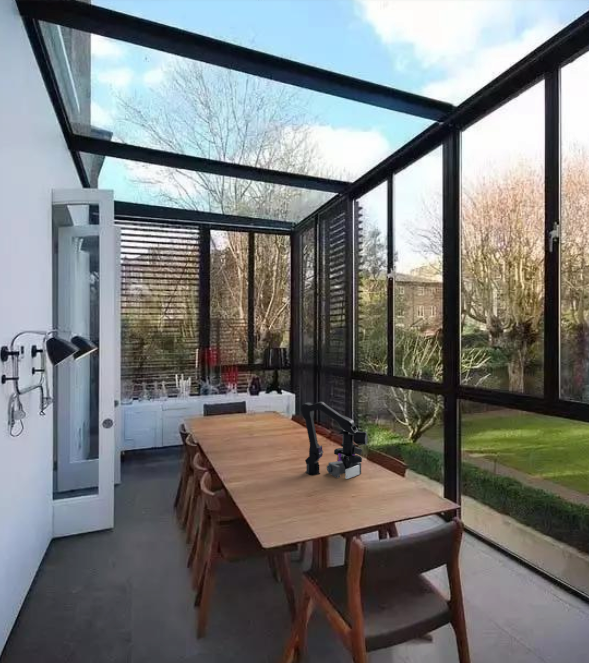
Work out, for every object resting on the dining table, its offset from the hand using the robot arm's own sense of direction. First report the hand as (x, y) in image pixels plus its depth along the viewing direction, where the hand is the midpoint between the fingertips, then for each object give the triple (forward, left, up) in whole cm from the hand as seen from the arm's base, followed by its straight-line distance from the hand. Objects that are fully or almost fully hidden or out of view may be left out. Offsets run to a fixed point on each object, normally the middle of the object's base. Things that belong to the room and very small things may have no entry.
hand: (347, 470), depth 233 cm
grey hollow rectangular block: (+3, +6, -4) cm, 8 cm away
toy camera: (+12, +18, -4) cm, 22 cm away
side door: (+3, -1, -3) cm, 4 cm away
